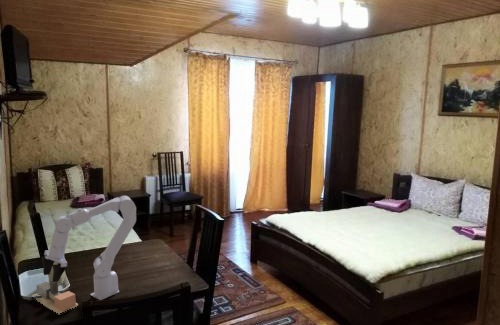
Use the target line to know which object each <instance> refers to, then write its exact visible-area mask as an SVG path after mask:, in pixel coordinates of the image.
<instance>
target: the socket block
mask: <svg viewBox="0 0 500 325" xmlns="http://www.w3.org/2000/svg"><path fill="white" fill-rule="evenodd" d="M76 300H77V299H76V294H75V293H74V292H71V291H70V290H68V291H64V292H62V293H61V294H59V295H57V296H54V302H55V308H57V309H58V310H60V311H63V310H65V309H68V308H70V307H72V306H75V305H76V303H77V301H76Z"/></svg>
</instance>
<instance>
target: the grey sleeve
mask: <svg viewBox="0 0 500 325" xmlns="http://www.w3.org/2000/svg"><path fill="white" fill-rule="evenodd" d="M49 290H50V283H49V281H44V282H42V283H39V284H37V285H36V294H37V295H41V296H42V298H44V299H46V300H47V299H50V298H49V297H47V291H49Z"/></svg>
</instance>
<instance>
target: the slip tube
mask: <svg viewBox="0 0 500 325" xmlns="http://www.w3.org/2000/svg"><path fill="white" fill-rule="evenodd" d="M59 294H62V293H61V292H59V284H58V282H53V281H51V282H50V290H49V291H47V297H49V298H51V299H52V300H54V296H57V295H59Z"/></svg>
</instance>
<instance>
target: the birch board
mask: <svg viewBox="0 0 500 325" xmlns="http://www.w3.org/2000/svg"><path fill="white" fill-rule="evenodd" d="M31 296H37V293H34V294H31ZM36 300H37V301H36ZM36 300H35V301H36V302H38V303H39V302H40V304H41V305H42V304H43V306H44V307H45V308H47V309H49V310H51V311H52V310H53V313H55V312H56V314H57V313H58V314H57V315H61V314H60V313H62V312H64V313H66V312H68V311H67V310H69V309H71V310H73V309H75V307H76V308H77V306H78V307H79V303H77V302H76V305H75V306H72V307H70V308H68V309H65V310H63V311H60V310H58V309H57V308H55V302H54V300H52V299H51V298H50V299H47V300H46V299H44V298H36ZM72 308H73V309H72ZM65 311H66V312H65ZM69 311H70V310H69ZM62 314H63V313H62Z"/></svg>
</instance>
